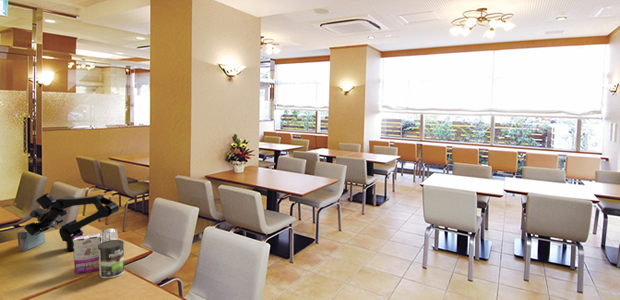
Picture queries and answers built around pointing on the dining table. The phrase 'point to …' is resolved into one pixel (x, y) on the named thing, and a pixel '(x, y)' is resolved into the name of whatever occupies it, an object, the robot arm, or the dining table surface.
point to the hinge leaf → (31, 241)
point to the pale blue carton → (20, 236)
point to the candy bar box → (86, 253)
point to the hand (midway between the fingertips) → (35, 234)
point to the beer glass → (109, 234)
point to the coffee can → (111, 258)
